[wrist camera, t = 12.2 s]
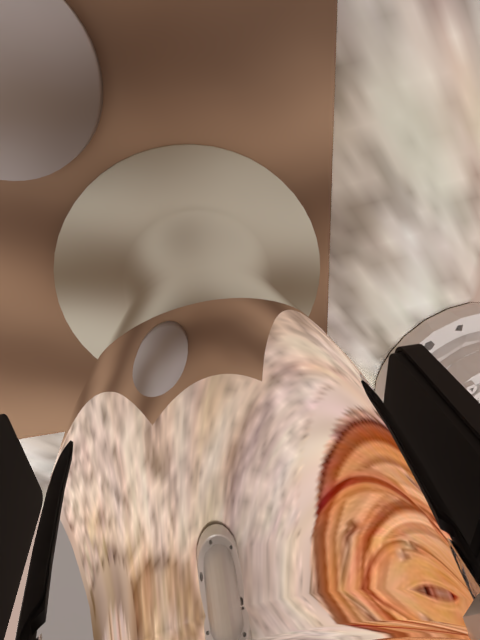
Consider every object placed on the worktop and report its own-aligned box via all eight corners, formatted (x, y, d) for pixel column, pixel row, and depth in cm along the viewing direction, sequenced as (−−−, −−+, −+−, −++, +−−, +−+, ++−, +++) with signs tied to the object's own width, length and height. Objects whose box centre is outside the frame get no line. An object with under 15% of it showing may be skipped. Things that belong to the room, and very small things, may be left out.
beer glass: (90, 211, 16) (-238, 784, 3) (273, 183, 16) (680, 564, 3) (134, 363, 19) (73, 933, 6) (284, 336, 20) (508, 811, 7)
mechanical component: (358, 445, 27) (501, 431, 28) (390, 505, 23) (553, 486, 24) (389, 302, 22) (559, 295, 24) (436, 348, 18) (635, 336, 20)
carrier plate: (-230, -114, 12) (-314, -156, 10) (328, -136, 13) (358, -176, 11) (13, 424, 22) (-3, 459, 20) (318, 375, 23) (333, 404, 21)
